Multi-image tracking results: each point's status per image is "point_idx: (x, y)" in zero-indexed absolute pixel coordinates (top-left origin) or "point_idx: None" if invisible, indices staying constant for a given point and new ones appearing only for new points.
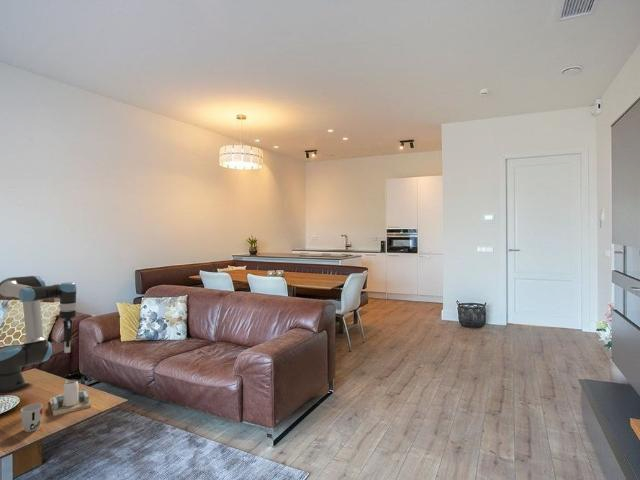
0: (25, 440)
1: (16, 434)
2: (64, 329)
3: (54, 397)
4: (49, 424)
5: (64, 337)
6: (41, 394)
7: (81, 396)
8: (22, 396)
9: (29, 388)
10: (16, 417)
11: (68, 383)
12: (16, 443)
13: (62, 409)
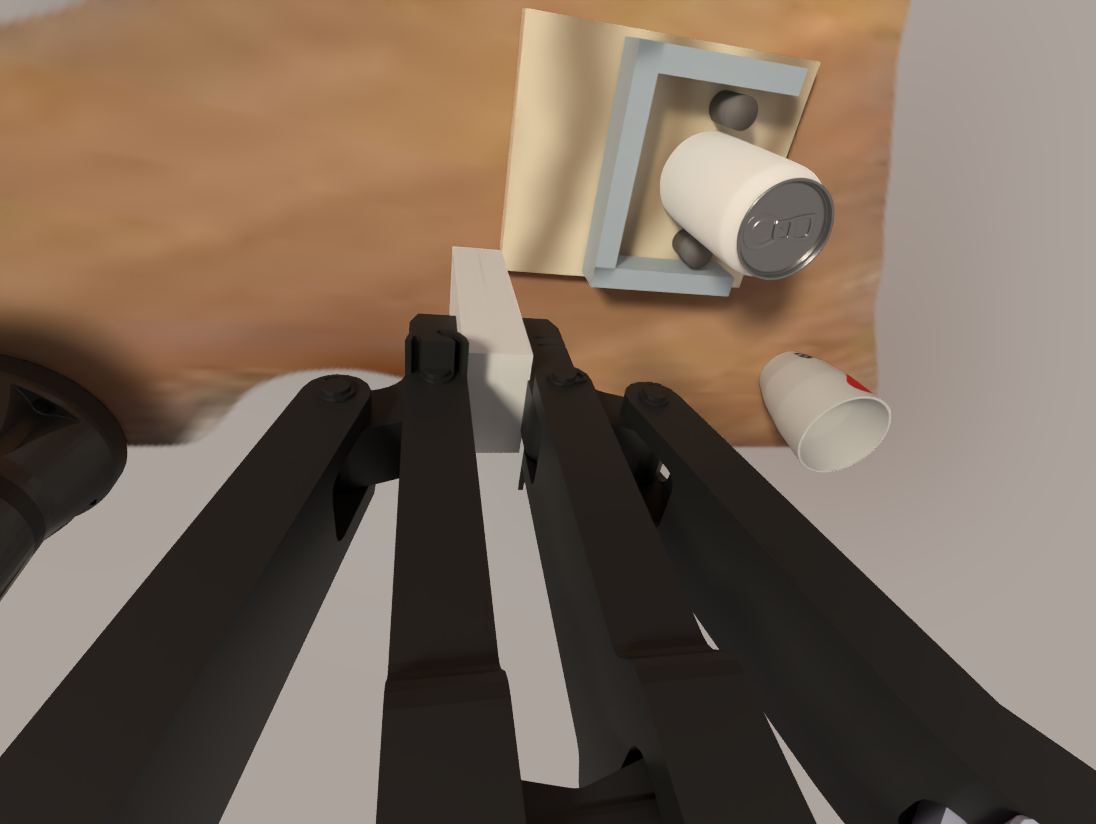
0: None
1: None
2: (269, 706)
3: (618, 277)
4: (810, 310)
5: (373, 491)
6: (304, 284)
7: (747, 114)
8: (275, 377)
9: (104, 332)
10: None
11: (811, 260)
12: None
13: None
